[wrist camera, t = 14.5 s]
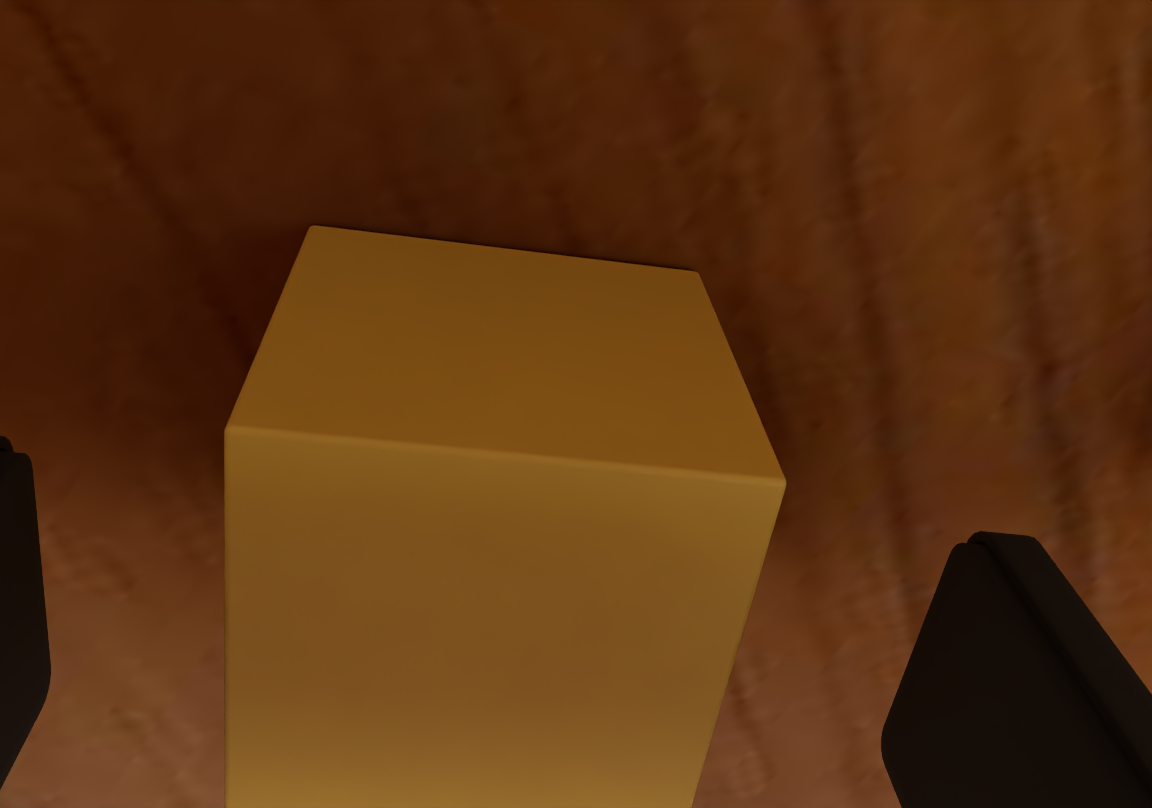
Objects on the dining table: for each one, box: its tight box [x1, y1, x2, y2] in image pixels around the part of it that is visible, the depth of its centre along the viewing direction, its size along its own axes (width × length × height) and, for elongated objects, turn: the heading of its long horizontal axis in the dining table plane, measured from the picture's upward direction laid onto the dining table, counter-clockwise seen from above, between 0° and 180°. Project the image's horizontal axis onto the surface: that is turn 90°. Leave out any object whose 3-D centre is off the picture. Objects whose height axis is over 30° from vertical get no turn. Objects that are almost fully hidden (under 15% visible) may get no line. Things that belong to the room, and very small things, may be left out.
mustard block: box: [224, 225, 786, 808], centre depth 12 cm, size 4×4×4 cm
